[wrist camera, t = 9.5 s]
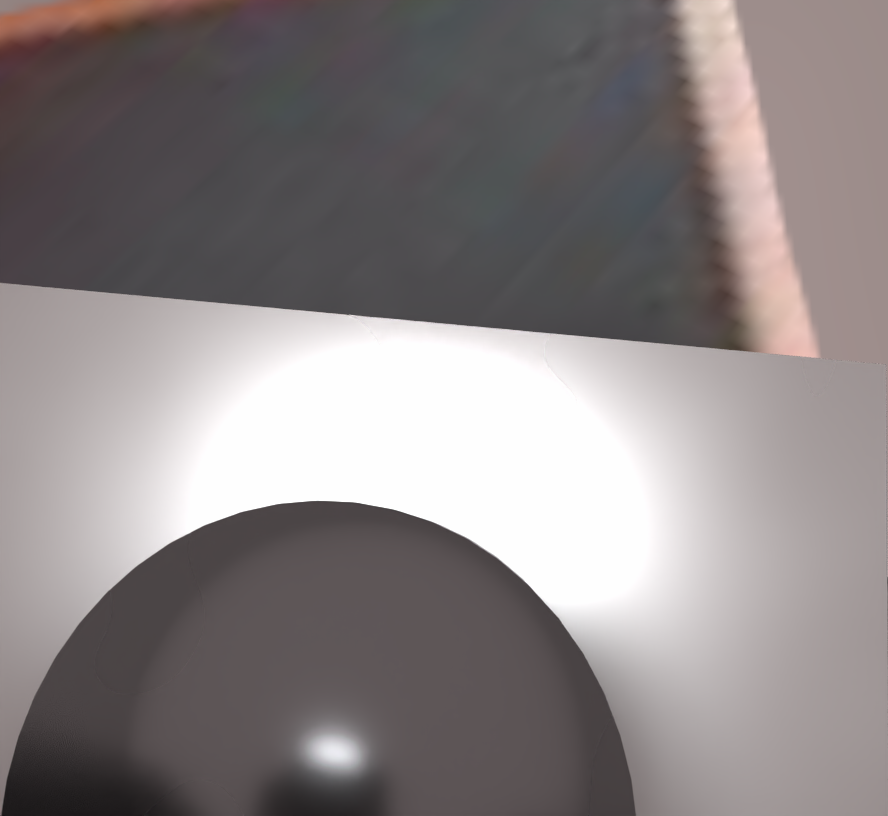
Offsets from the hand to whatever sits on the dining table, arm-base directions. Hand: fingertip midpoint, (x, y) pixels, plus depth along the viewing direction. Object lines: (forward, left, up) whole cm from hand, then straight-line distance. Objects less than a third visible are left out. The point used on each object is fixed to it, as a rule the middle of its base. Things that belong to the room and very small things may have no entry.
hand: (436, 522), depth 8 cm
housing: (-1, 0, -8) cm, 8 cm away
